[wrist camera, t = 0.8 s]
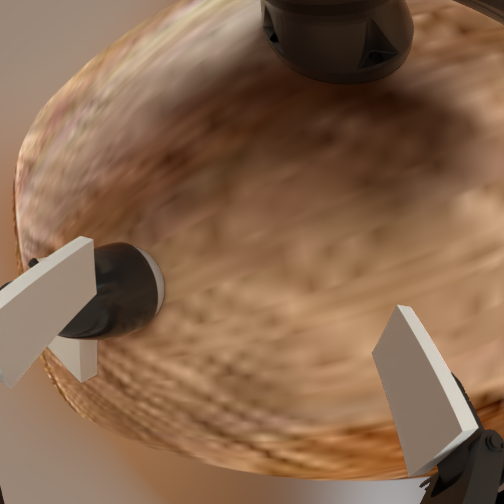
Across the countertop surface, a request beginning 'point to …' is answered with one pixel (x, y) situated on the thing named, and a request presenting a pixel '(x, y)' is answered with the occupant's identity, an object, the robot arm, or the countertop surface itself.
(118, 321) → the dark brown rounded piece
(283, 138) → the countertop surface
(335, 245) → the countertop surface
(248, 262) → the countertop surface
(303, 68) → the robot arm
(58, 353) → the riser
